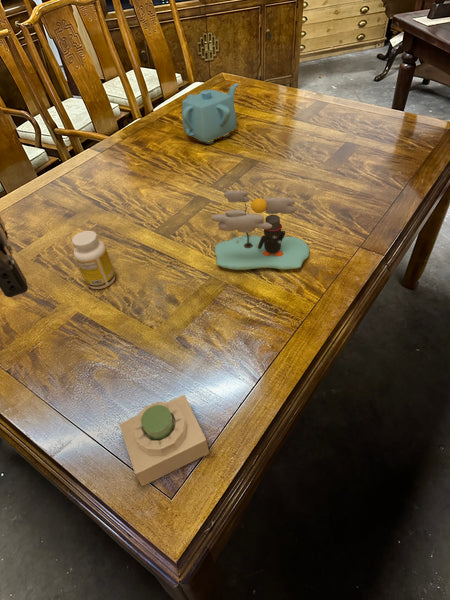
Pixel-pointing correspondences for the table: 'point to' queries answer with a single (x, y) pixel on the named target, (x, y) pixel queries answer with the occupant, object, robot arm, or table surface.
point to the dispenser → (164, 442)
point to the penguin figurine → (256, 249)
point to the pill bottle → (93, 260)
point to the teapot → (209, 114)
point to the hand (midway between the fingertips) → (17, 290)
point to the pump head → (157, 422)
